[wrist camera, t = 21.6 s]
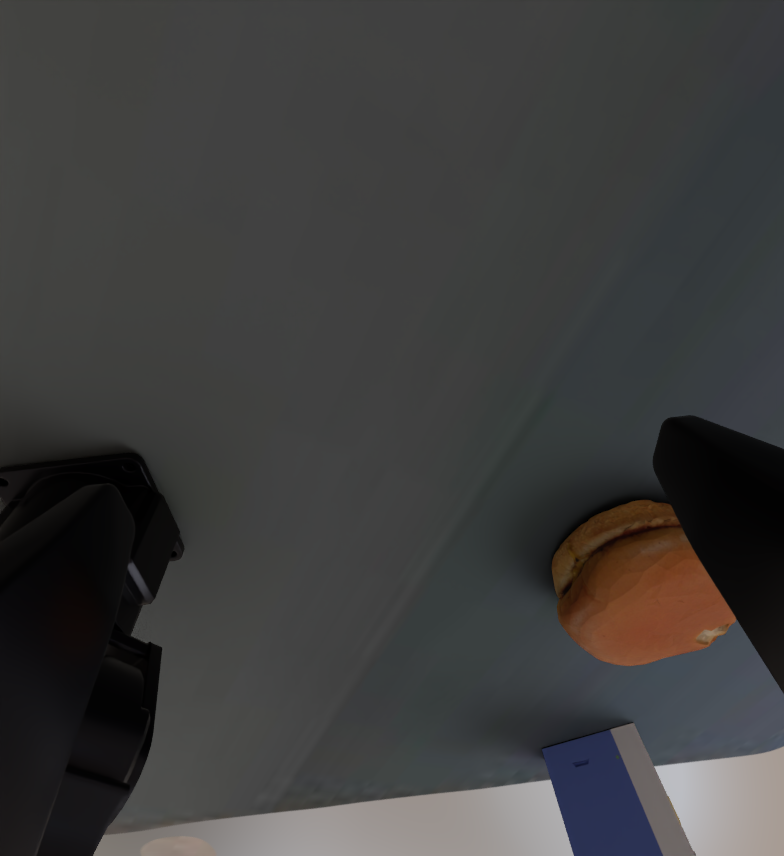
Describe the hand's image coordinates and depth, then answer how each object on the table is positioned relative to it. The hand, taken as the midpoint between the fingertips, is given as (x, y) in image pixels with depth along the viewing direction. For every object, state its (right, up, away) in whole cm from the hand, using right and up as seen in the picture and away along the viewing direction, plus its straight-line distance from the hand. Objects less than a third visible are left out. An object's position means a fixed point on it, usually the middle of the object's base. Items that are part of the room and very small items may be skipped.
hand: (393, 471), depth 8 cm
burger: (+13, -7, +20) cm, 25 cm away
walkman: (+16, -26, +33) cm, 45 cm away
